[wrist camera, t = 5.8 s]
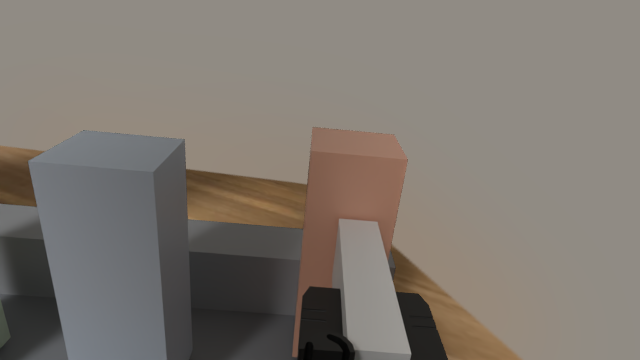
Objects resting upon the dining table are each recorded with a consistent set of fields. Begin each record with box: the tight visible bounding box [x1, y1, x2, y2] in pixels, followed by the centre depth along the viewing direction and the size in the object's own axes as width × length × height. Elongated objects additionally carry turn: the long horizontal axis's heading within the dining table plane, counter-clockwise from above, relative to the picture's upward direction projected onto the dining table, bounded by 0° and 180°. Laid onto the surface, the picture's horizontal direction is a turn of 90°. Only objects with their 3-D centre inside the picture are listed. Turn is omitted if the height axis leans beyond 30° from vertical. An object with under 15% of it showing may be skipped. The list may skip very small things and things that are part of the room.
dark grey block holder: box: [0, 204, 396, 360], centre depth 17 cm, size 22×14×5 cm, turn 90°
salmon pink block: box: [292, 127, 408, 357], centre depth 18 cm, size 4×3×10 cm
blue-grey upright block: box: [28, 130, 193, 360], centre depth 15 cm, size 4×3×10 cm
